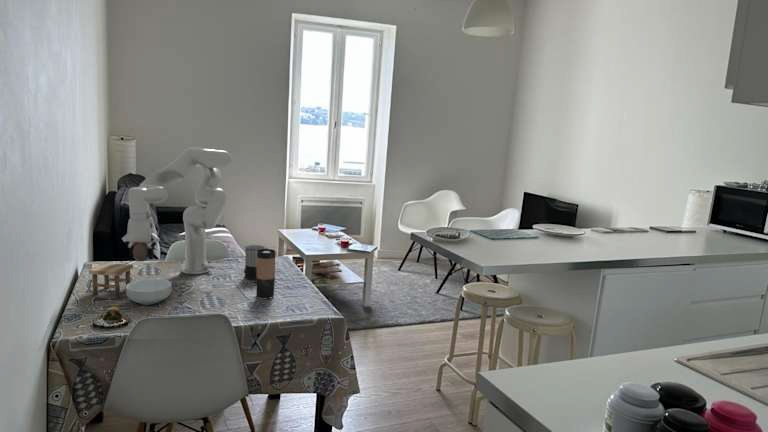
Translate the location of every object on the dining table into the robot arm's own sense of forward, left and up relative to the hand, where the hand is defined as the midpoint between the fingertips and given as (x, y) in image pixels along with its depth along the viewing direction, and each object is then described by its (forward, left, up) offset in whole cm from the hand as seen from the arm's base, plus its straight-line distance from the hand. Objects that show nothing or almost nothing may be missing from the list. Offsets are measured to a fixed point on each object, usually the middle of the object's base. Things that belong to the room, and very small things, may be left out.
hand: (141, 255), depth 234 cm
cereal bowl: (-12, +21, -13) cm, 28 cm away
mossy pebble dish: (-10, +46, -13) cm, 49 cm away
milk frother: (-42, -25, -13) cm, 51 cm away
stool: (+7, +13, -13) cm, 19 cm away
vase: (0, 0, -2) cm, 2 cm away
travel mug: (-55, +6, -13) cm, 57 cm away
